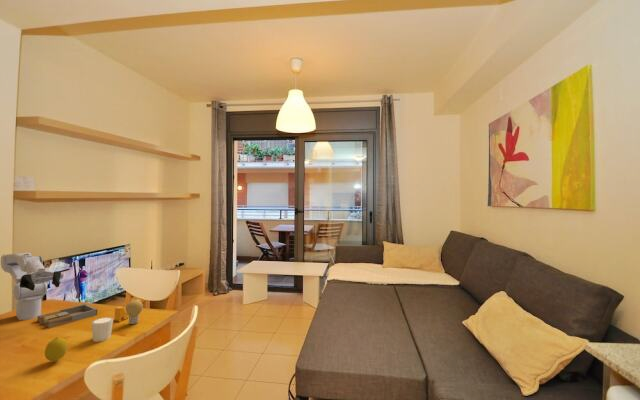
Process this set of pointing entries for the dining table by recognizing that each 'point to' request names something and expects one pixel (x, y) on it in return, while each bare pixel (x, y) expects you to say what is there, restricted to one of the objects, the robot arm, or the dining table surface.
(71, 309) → the tray
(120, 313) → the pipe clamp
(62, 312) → the silvery white square block
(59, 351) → the lemon
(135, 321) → the light bulb
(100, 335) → the white cup
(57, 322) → the slot board
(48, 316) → the brass chip
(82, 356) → the dining table surface
